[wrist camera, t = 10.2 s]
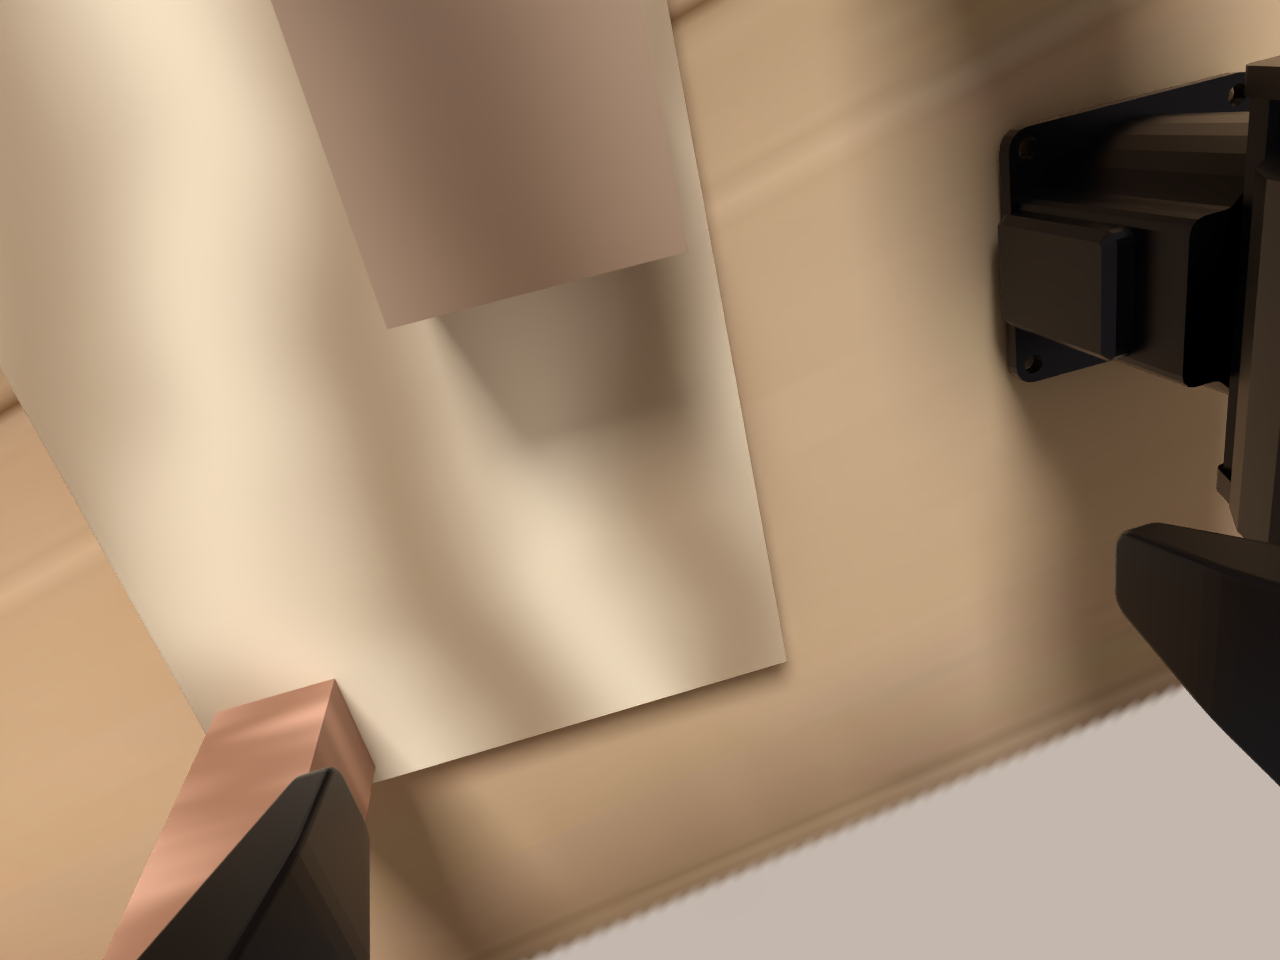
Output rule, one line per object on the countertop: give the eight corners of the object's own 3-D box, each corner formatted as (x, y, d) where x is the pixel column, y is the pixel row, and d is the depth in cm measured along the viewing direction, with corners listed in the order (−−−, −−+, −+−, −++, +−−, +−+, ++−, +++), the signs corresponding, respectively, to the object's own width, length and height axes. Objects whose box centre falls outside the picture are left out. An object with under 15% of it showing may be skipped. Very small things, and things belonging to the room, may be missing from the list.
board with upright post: (627, -129, 17) (947, -711, 5) (770, 632, 25) (1030, 1089, 13) (-130, 41, 16) (-1845, -202, 4) (266, 779, 24) (51, 1418, 12)
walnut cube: (581, -42, 16) (619, -109, 12) (637, 220, 18) (688, 251, 14) (325, 17, 16) (261, -27, 11) (411, 278, 18) (386, 328, 13)
